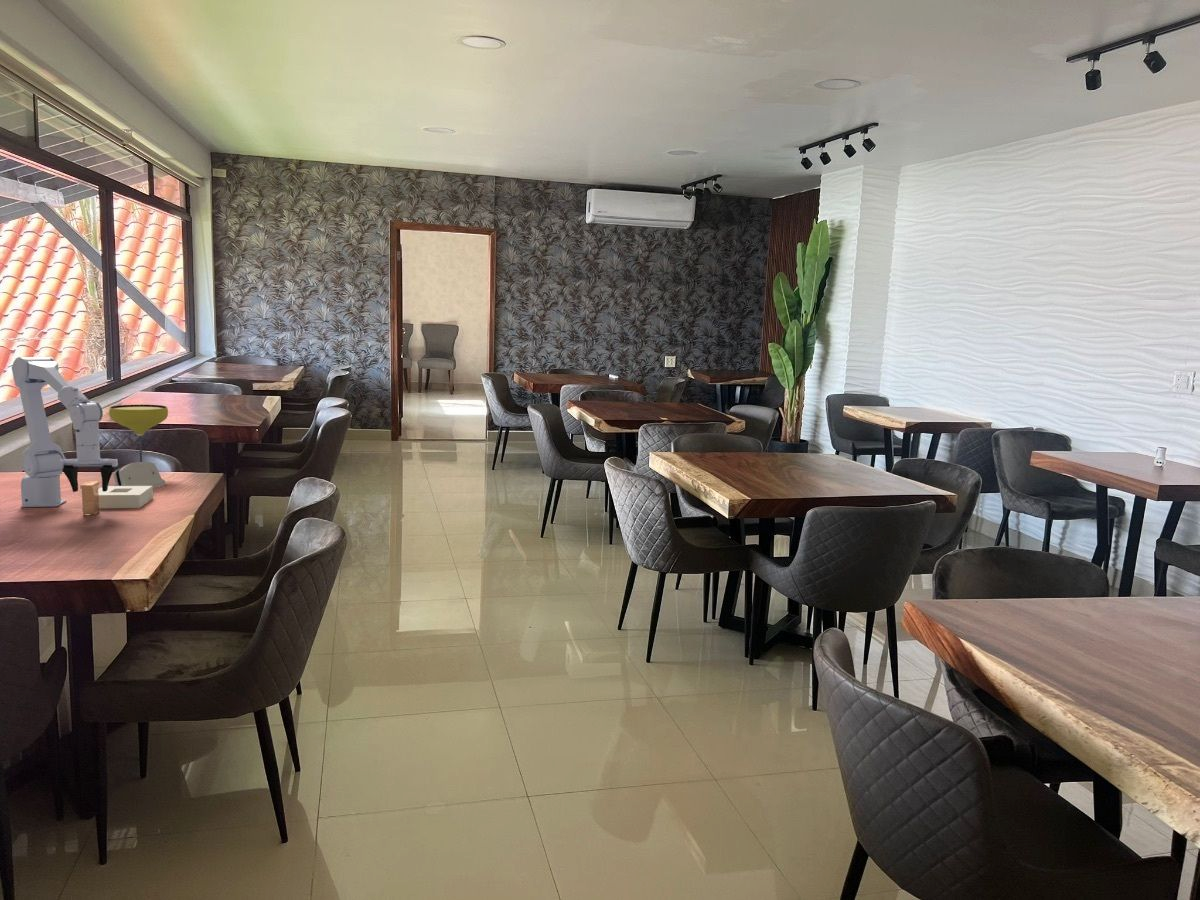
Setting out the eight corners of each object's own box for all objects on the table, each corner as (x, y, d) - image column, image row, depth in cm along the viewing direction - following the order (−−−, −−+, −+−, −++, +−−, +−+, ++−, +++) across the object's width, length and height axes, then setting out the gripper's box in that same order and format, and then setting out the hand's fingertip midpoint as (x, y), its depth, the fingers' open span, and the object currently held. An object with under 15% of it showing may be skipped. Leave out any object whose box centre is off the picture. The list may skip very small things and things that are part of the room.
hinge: (129, 494, 270) (119, 464, 269) (118, 497, 271) (108, 468, 270) (167, 485, 286) (158, 457, 285) (156, 488, 287) (147, 460, 287)
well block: (88, 508, 249) (87, 495, 248) (103, 498, 262) (103, 486, 262) (140, 507, 252) (139, 494, 252) (152, 498, 266) (152, 485, 265)
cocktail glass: (165, 471, 310) (163, 404, 306) (174, 479, 296) (171, 409, 292) (109, 474, 300) (106, 405, 296) (115, 483, 285) (112, 410, 281)
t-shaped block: (81, 516, 240) (80, 485, 238) (89, 511, 245) (87, 481, 244) (93, 516, 240) (91, 485, 239) (100, 511, 246) (99, 481, 245)
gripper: (53, 446, 234) (56, 494, 236) (111, 446, 238) (113, 493, 240) (63, 442, 241) (66, 489, 243) (119, 443, 244) (121, 488, 246)
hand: (90, 491), depth 242 cm, fingers open, 7 cm apart
